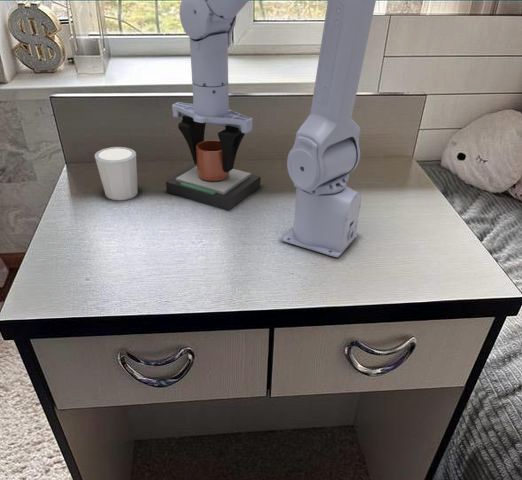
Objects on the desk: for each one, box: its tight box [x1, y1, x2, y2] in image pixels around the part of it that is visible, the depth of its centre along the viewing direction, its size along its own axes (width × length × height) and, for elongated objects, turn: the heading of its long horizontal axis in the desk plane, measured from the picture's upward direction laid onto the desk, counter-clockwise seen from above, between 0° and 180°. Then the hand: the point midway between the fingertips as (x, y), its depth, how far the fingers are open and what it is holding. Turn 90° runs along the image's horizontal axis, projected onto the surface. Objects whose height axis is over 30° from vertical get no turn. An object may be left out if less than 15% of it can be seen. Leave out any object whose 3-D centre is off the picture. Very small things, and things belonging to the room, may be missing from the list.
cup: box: [196, 139, 229, 181], centre depth 91 cm, size 6×6×5 cm
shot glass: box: [94, 146, 139, 201], centre depth 90 cm, size 7×7×7 cm
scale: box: [165, 164, 261, 211], centre depth 94 cm, size 13×11×3 cm
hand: (213, 166), depth 92 cm, fingers closed on cup, 5 cm apart
